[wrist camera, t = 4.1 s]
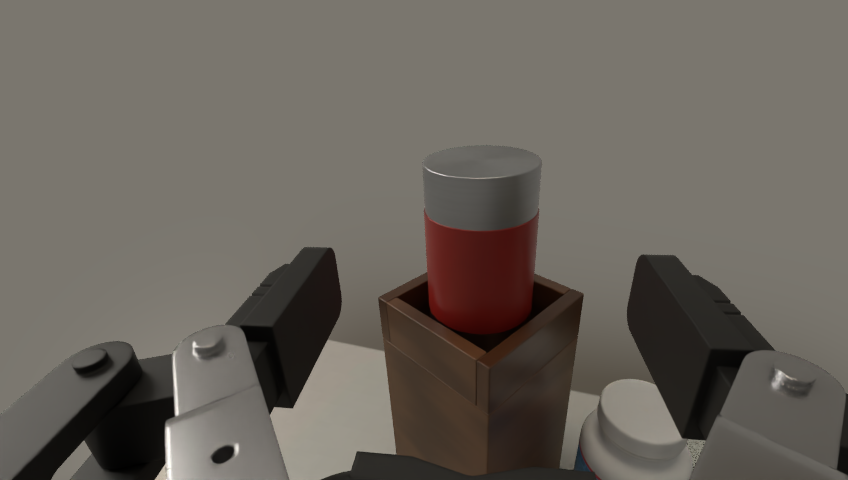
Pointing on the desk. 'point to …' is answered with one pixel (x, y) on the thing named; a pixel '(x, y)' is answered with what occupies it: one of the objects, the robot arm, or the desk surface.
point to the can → (481, 239)
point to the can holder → (480, 383)
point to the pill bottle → (632, 436)
